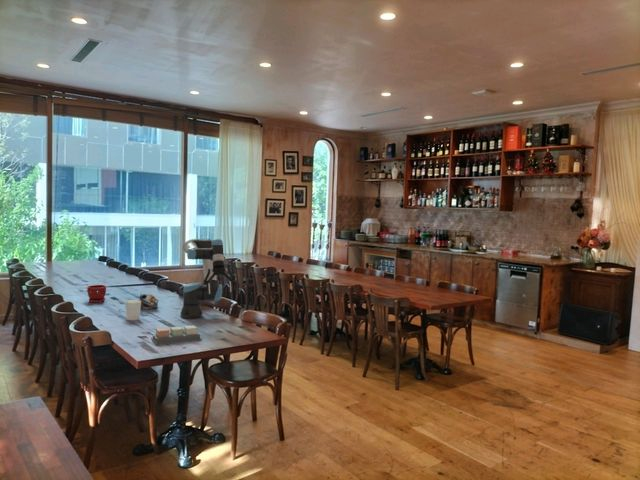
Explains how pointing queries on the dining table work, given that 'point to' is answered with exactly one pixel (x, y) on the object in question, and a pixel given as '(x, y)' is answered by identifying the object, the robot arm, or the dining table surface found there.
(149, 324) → the dining table surface
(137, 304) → the candle holder
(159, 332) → the terracotta tile
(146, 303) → the mottled brown lump
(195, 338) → the button board
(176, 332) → the sage tile
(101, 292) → the plant pot
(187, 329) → the ivory tile
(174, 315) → the dining table surface
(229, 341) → the dining table surface
